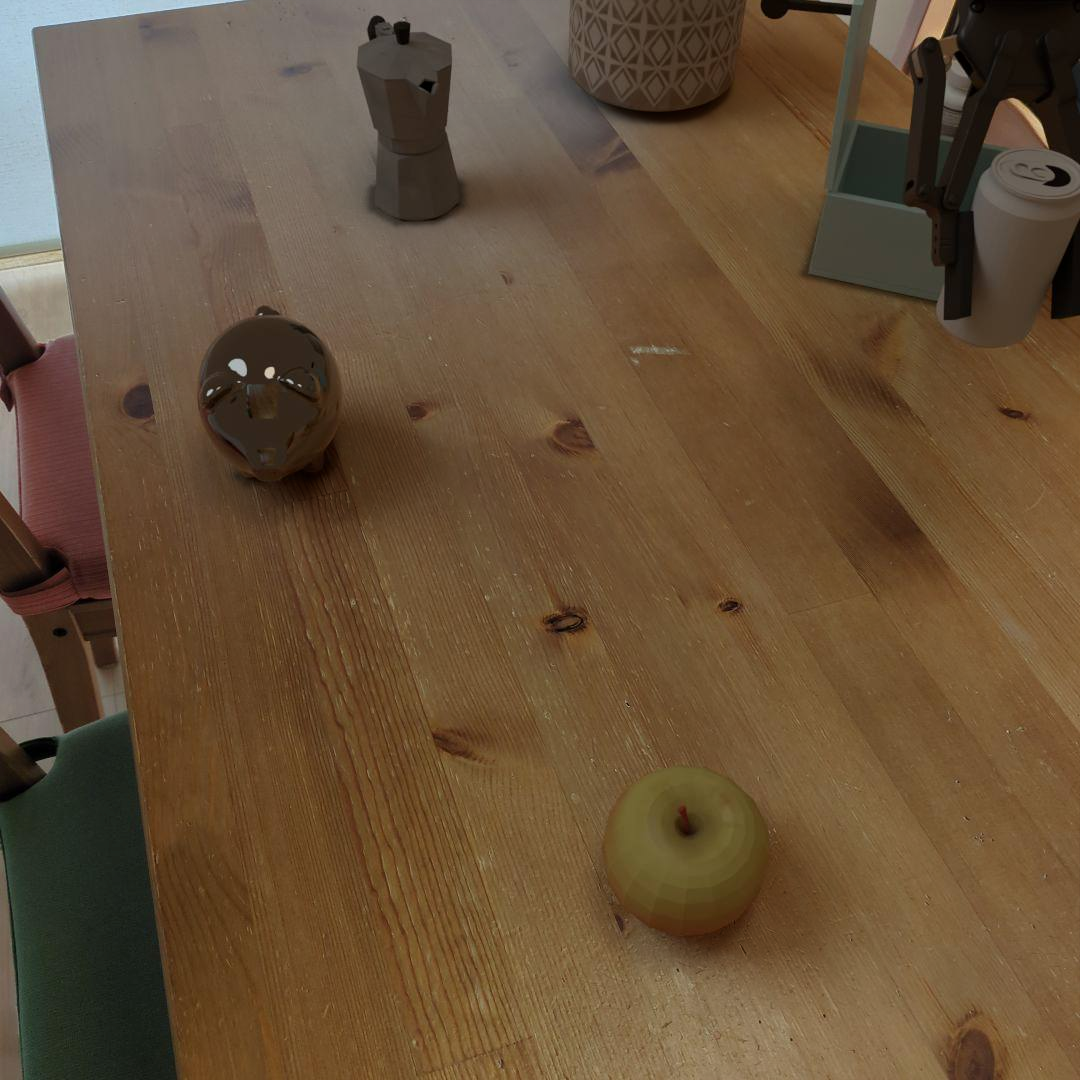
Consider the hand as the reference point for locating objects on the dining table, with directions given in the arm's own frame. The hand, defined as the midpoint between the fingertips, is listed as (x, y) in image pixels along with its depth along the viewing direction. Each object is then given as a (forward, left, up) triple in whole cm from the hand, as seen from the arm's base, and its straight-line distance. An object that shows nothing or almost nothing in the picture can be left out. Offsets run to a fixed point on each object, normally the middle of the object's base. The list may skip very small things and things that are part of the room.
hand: (1011, 317), depth 72 cm
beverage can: (+1, -3, -4) cm, 5 cm away
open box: (+7, -34, -20) cm, 41 cm away
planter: (+39, -57, -20) cm, 72 cm away
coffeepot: (+56, -27, -20) cm, 65 cm away
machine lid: (+15, -34, -3) cm, 38 cm away
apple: (+11, +35, -20) cm, 42 cm away
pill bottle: (+5, -53, -20) cm, 57 cm away
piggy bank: (+51, +11, -20) cm, 56 cm away
